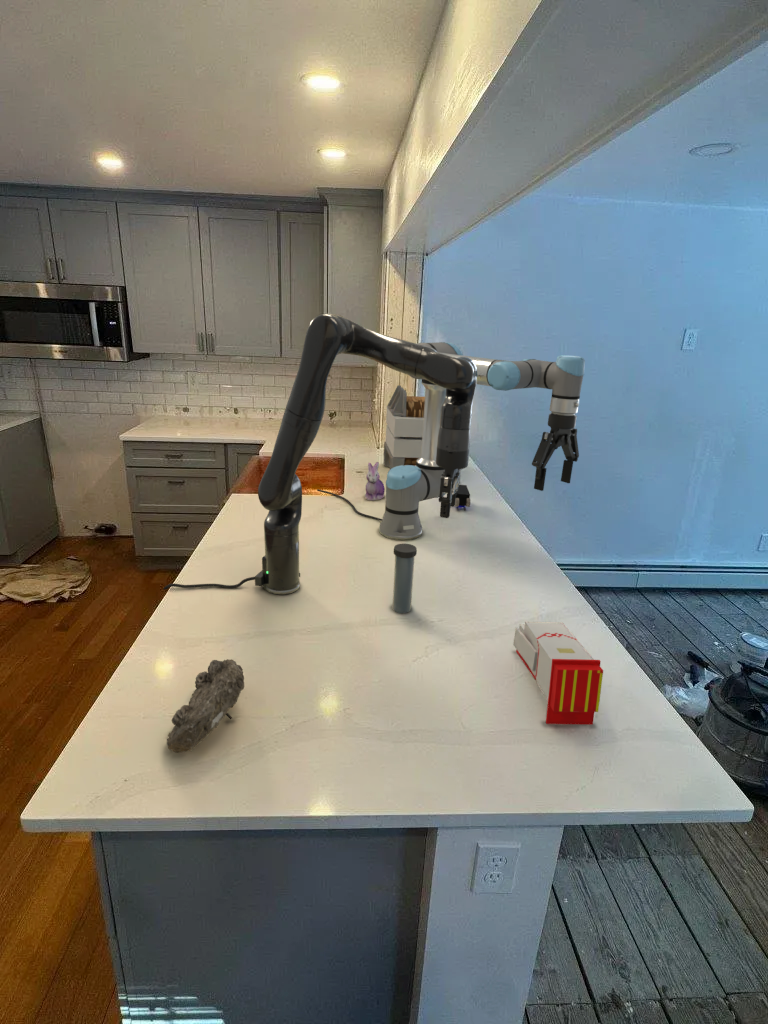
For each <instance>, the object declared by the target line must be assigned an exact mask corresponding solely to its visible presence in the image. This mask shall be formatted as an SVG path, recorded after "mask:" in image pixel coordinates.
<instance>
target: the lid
mask: <svg viewBox="0 0 768 1024" xmlns="http://www.w3.org/2000/svg"><path fill="white" fill-rule="evenodd" d="M417 551H418V550H417V546H415V545H413V544H411V543H397V544H395V545H393V555H394V556H395V555H396V556H397V557H400V558H412V557H416V556H417V554H418V553H417Z"/></svg>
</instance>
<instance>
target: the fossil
mask: <svg viewBox="0 0 768 1024" xmlns="http://www.w3.org/2000/svg"><path fill="white" fill-rule="evenodd" d="M243 670H244V669H243V667H242V665H240V664H237V662H236V661H235V660H234V659H232V658H231V659H227V658H226V659H224V660H223V661H222V660H217V659H212V660H211V661H210V663H209V665H208V666H207V671H201V672H199V673H198V674H197V675H196V676H195V680H194V684H195V685H194V687H195V689H194V690H193V693H192V694H191V697H190V698H189V700H188V704H184V705H182V706H181V707H180V709H177V710H176V711H175V713H174V715H173V716H172V718H171V723H172V724H173V727H172V730H171V731H170V732H168V734H167V738H166V741H167V742H166V745H167V749H168V750H169V751H173V752H174V753H176V754H178V753H182V752H188V751H189V752H192V751H193V750H195V748H196V747H197V746H199V744H200V743H201V742H203V741H204V740H205V739H206V738H207V737H208V736H209V735H210V734H211V733H212V732H214V730H215V729H217V727H218V726H219V724H220V722H221V721H222V720H223V719H224V718H225V716H226V717H227V719H229V720H233V717H232V715H230V714H229V710H230V709H231V708H234V706H235V704H236V703H237V702H238V699H239V697H240V695H241V693H242V691H243V690H245V689H244V688H245V675H244V671H243Z"/></svg>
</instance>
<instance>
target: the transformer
mask: <svg viewBox="0 0 768 1024" xmlns="http://www.w3.org/2000/svg"><path fill="white" fill-rule="evenodd" d="M407 394H408V393H407V390H406V389H404V388H403V387H402V385H399V384H398V385H397V386H396V388H395V390H394V392H393V394H392V395H391V398H390V400H389V402H388V404H387V405H386V413H385V414H386V415H385V423H386V428H385V438H384V442H383V466H384V467H388V468H389V470H390V469H392V468H394V467H396V466H401V465H404V466H405V465H413V466H416V461H417V459H418V458H420V457H421V449H422V434H423V419H424V404H425V396H415V395H414V396H413V395H412V396H411V395H407ZM461 472H462V469H460V475H461ZM459 483H461V478H460V479H459Z"/></svg>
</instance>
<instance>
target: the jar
mask: <svg viewBox="0 0 768 1024" xmlns="http://www.w3.org/2000/svg"><path fill="white" fill-rule="evenodd" d="M415 557H416V556H415ZM415 557H412V558H400V557H397V556H396V555H394V569H393V570H394V571H393V589H392V607H391V608H392V611H394V612H395V613H398V614H408V613H409V612H411V610H412V602H413V588H414V587H413V586H414V572H415V571H414V570H415Z"/></svg>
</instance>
